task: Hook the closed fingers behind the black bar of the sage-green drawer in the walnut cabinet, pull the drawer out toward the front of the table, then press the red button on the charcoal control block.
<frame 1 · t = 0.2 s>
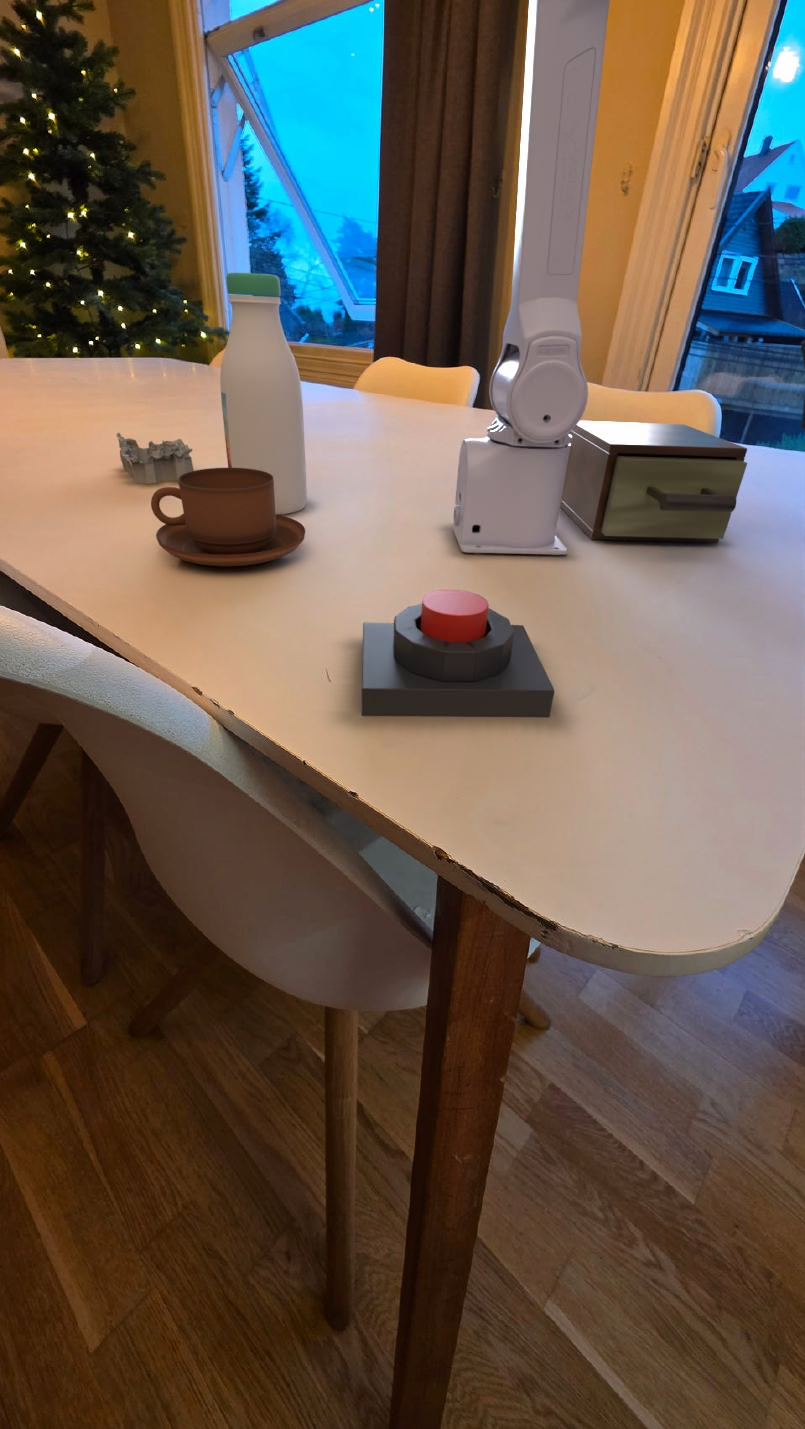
control block: (448, 679, 36), on the table
egg carton: (159, 476, 76), on the table
milk bottle: (270, 508, 66), on the table
drawer: (658, 490, 60), point 4 cm above the table, slide at 0.5 cm
button: (454, 616, 34), point 4 cm above the table, slide at 0.1 cm
cabinet: (630, 521, 66), on the table
cup and saucer: (235, 555, 53), on the table
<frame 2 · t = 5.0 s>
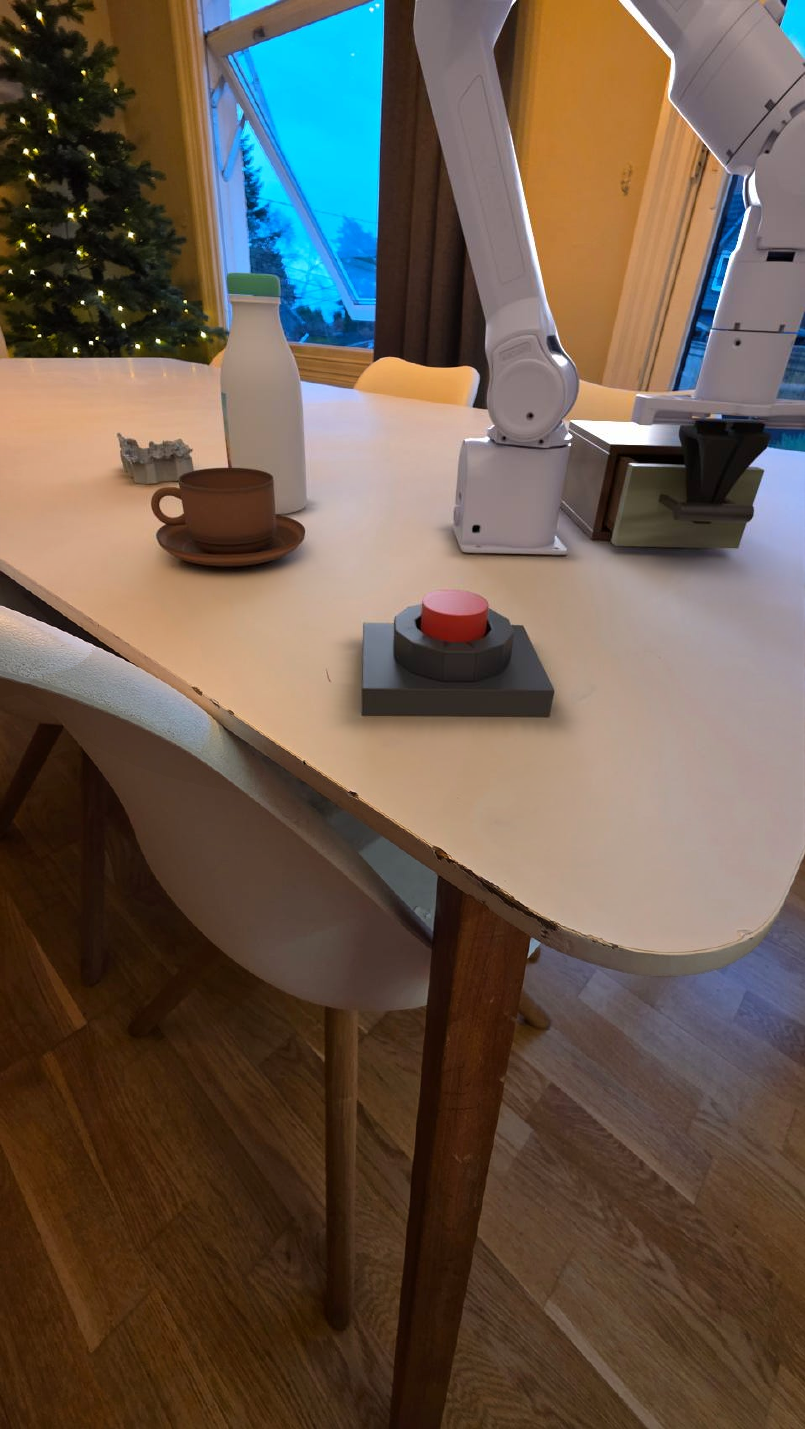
hand: (697, 520, 53), 4 cm above the table, tool pointing down, fingers closed, pressing on drawer
drawer: (670, 497, 57), point 4 cm above the table, slide at 3.4 cm, touching gripper
everything else where it was.
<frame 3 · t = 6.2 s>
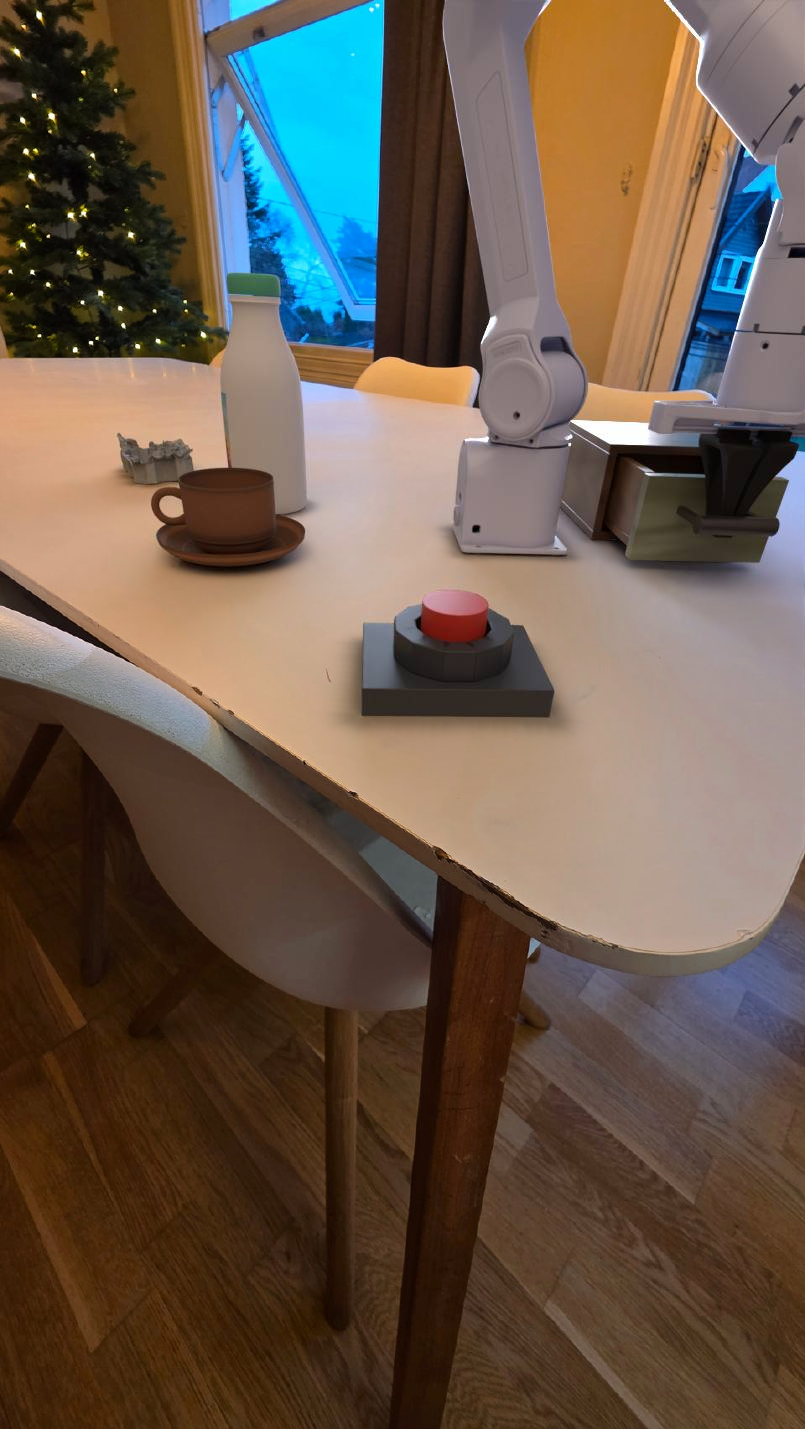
hand: (717, 534, 50), 4 cm above the table, tool pointing down, fingers closed, pressing on drawer
drawer: (687, 508, 54), point 4 cm above the table, slide at 7.1 cm, touching gripper
everything else where it was.
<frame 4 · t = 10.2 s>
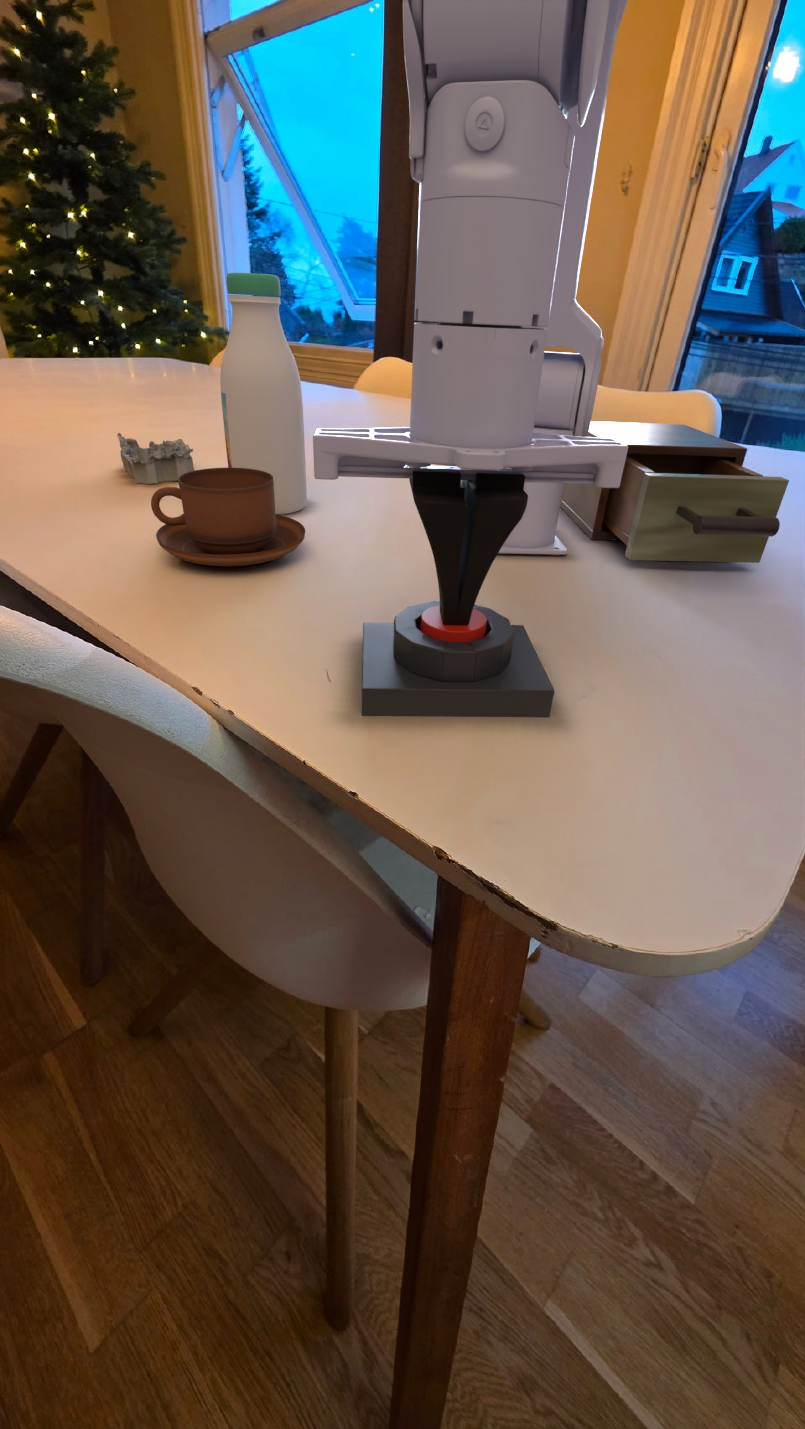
hand: (453, 618, 34), 4 cm above the table, tool pointing down, fingers closed, pressing on button
drawer: (687, 508, 54), point 4 cm above the table, slide at 7.1 cm
button: (452, 631, 35), point 3 cm above the table, slide at -0.8 cm, touching gripper
everything else where it was.
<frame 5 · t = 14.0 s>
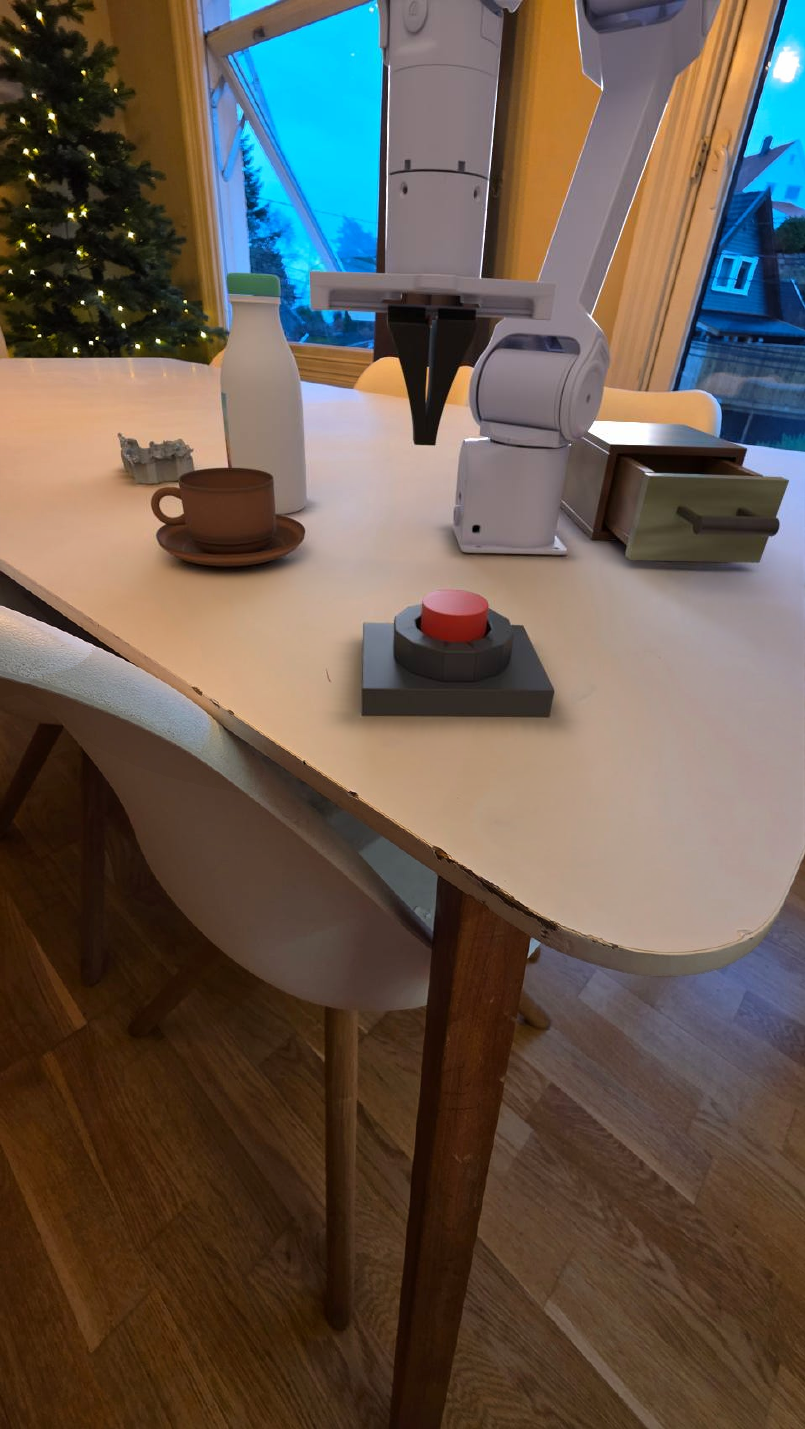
hand: (424, 442, 42), 10 cm above the table, tool pointing down, fingers closed
button: (454, 616, 34), point 4 cm above the table, slide at 0.1 cm
everything else where it was.
at the end: drawer slide at 7.1 cm; button pushed in 1.2 cm at the most during the clip, back to where it started at the end; button slide at 0.1 cm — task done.
